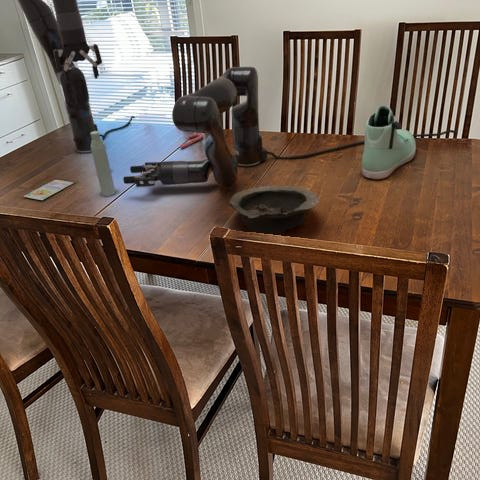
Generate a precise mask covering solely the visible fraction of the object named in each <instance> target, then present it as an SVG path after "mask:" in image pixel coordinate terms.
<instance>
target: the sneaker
mask: <svg viewBox="0 0 480 480" xmlns="http://www.w3.org/2000/svg"><path fill="white" fill-rule="evenodd" d="M364 129H365V130H364V141H365V143H364V148H363V153H362V158H361V175H362V176H363V177H365V178H367V179H371V180H382V179H385V178H387V177H389V176H390V175H391V174H392V173H394V171H395V170H396V169H398V168H399V167H400V166H402V165H404V164H407V163H409V162H410V161H412V160H413V159H414V158H415V155H416V151H417V147H416V145H417V144H416V139H415V137H413V135H414V134H412V132H411V131H409V130H407V129H402V125H401V123H400V122H398V120H396V116H395V115H393V110H392V109H391V108H390V107H389V106H387V105H379V106H378V107H377V108H376V111H375V112H373V114H371V115H370V116H369V117H368V118H367V121H366V123H365V128H364Z"/></svg>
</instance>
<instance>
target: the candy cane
mask: <svg viewBox="0 0 480 480" xmlns="http://www.w3.org/2000/svg"><path fill="white" fill-rule="evenodd" d="M203 138H204V136H203V133H191V134H189V135H188V139H190V140H189V141H187V142H184V143H182V144H180V146H179V148H180V149H184V148H186V147H188V146H190V145H193V144H194V143H197V142H199V141H200V140H203Z"/></svg>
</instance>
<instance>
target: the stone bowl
mask: <svg viewBox="0 0 480 480" xmlns="http://www.w3.org/2000/svg"><path fill="white" fill-rule="evenodd" d="M319 203H320V199H319V198H318V197H317V195H316V193H314V192H313V191H311V190H309V189H307V188H302V187H298V186H291V185H277V184H275V185H274V184H271V185H266V186H265V185H262V186H254V187H251V188H248V189H244V190H240V191H238V192H236V193H235V194H233V195H232V196H231V198H230V200H229V203H228V202H227V204H226V205H228V206H230V207H231V208H232V209H234V211H236V212H237V213H238V214H239V215H240V217H241V220H242V223H243V225H244V226H246V227H247V228H248V229H249V232H250V233H251V232H256V233H264V234H273V235H279V236H281V235H284V234H285V233H286V232H285V231H286V230H292V229H294V228H300V227H301V226H303V224H304V220H305V217H306V212H308V211H310V210H312V209H313V208H315V207H317V206H318V204H319Z"/></svg>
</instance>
